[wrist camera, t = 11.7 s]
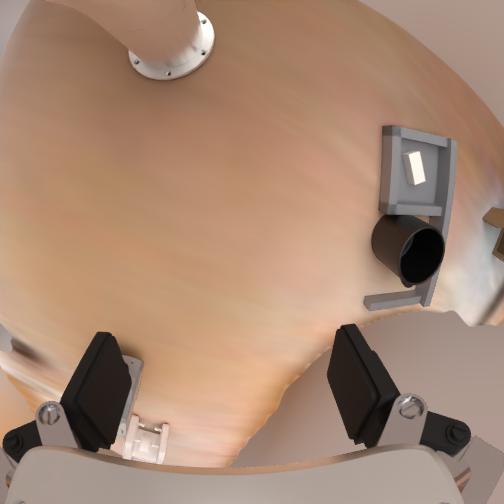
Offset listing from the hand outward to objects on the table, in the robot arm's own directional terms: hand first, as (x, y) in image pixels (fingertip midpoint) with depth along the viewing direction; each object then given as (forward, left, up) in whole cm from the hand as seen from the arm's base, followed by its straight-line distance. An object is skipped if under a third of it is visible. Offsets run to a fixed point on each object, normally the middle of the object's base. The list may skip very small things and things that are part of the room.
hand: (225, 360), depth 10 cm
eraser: (-7, +29, -30) cm, 42 cm away
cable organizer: (+58, -26, -31) cm, 71 cm away
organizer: (+3, +30, -30) cm, 43 cm away
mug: (+7, +28, -31) cm, 42 cm away
